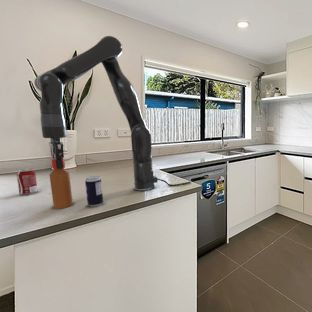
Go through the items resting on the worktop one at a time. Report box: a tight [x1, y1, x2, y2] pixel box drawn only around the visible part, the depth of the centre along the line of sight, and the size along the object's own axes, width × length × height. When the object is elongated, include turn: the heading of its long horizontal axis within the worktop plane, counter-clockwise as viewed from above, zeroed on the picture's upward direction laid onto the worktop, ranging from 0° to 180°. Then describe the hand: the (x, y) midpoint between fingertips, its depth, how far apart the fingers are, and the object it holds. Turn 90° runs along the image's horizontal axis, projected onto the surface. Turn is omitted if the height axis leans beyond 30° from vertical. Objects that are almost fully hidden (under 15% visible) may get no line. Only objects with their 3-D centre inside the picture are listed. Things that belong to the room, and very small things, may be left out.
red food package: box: [16, 168, 39, 196], centre depth 109 cm, size 7×7×12 cm
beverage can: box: [84, 175, 104, 207], centre depth 94 cm, size 6×6×12 cm
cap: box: [51, 158, 66, 170], centre depth 91 cm, size 4×4×4 cm
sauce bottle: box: [49, 168, 74, 210], centre depth 92 cm, size 6×6×20 cm
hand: (58, 167), depth 91 cm, fingers closed on cap, 4 cm apart
